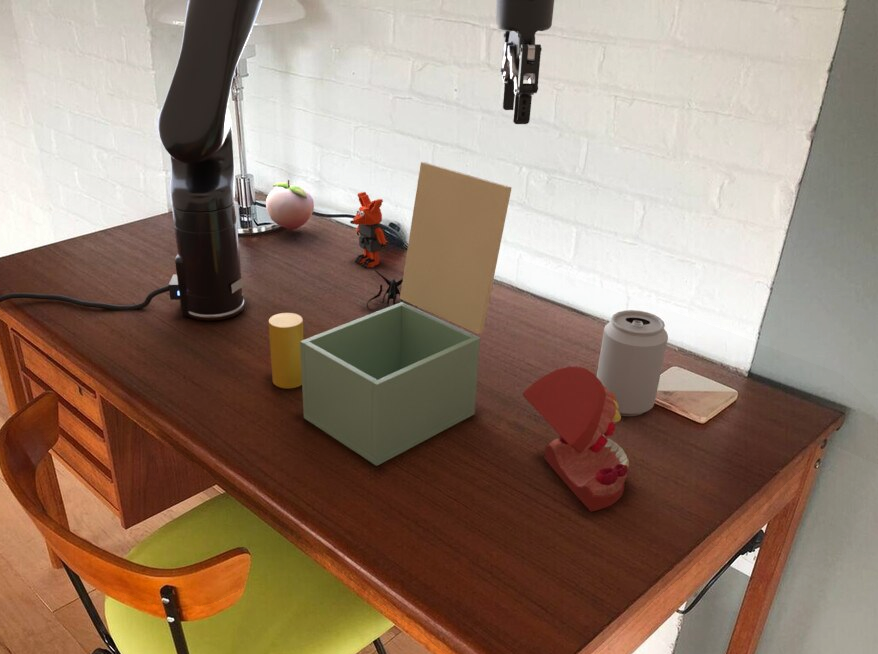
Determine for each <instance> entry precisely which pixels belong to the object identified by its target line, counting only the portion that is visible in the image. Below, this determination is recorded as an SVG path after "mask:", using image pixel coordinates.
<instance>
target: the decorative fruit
mask: <svg viewBox="0 0 878 654" xmlns="http://www.w3.org/2000/svg"><path fill="white" fill-rule="evenodd" d="M272 187H273V189H272V190H271V191H270V192H269V194H268V195H267V197H266V200H265V208H266V212H267V214H268V216H269V218H270V219H271V220H272V221H273V223H275V224H276V225H277V226H279V227H283V228H284V229H287V230H289V231H291V232H292V231H294V230H297V229H299V228H301V227H302V226H304V225H305V224H306V223H307V222H309V220H310V219H311V217H312V215H313V213H314V208H315V203H314V199H313V196H312V195H311V193H310V192H309V191H308V190H307V189H305V188H303V187H300V186H297V185H291V184H290V179H288V180H287V182H286V181H280V182H275V183H273V185H272Z"/></svg>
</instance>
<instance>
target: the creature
mask: <svg viewBox="0 0 878 654" xmlns="http://www.w3.org/2000/svg"><path fill="white" fill-rule="evenodd" d="M374 272H375V273H376V274H378V276H379V277H380V278H382V279H383V280H384V282H385V283H386V284H387V285H388V287H387V289H386V291H385V293H384V294H383V297H382V301H381V302H379V303H380V304H379V305H380V306H379V307H375V308H373V309H371V308H369V303H370V302H371V301H372V300H375V299H377V298H379V297H380V296H381V295H382V293H383V284H380V285H379V290H378V293H377V294H376V295H375V296H373V297H371V298H370V299H368V300H367V303H366V309H367V310H369V311H371V312H372V311H375V310H377V309H380V308H385V306H384V305H381V303H382V304H383V303H384V302H385V297H386V295H387V299H386V308H387V307H390V300H392V306H393V305H395V304H396V300H397V298H398V297H397V295H399V296H400V295H401V290H400V289H399V288H398V287H399V286H400V285H402V282H403V277H402V278H401V279H400V280H398V281H396V279H395V278H393V279H391V280H389V279H387V278H386V277H385V276H384V275H382V274H381V273H379V272H378V270H374ZM400 302H403V303H404V300H402V299H400ZM415 308H418V307H417V306H415Z"/></svg>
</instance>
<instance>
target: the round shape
mask: <svg viewBox="0 0 878 654" xmlns="http://www.w3.org/2000/svg"><path fill="white" fill-rule="evenodd" d="M268 333H269V349H270V362H271V363H270V364H271V377H272V383H273V385H274V386H275V387H278V388H279V389H280V388H281V389H295V388H299V387H302V371H301V351H300V341H302V340H305V337H304V319H303V317H302V315H300V314H298V313H295V312H281V313H276V314H274V315H272V316H270V318H269V319H268Z"/></svg>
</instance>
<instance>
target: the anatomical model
mask: <svg viewBox="0 0 878 654" xmlns="http://www.w3.org/2000/svg"><path fill="white" fill-rule="evenodd" d="M522 396H523V397H524V399H526V401H527V402H528V403H529V404H530V405H531V406H532V407H533V409H535V411H537V412H538V414H539V415H541V417H542V418H543V419H544V421H546V422H547V423H548V424H549V425H550V426H551V428H553V430H554V431H556V432H557V433H558V434H559V437H558V438H555V439H554V440H552V441H551V442H549V443H548V444H546V445H545V449H544V457H543V458H544V460H545V461H546V462H547V463H548V465H549V466H550V467H551V468H552V470H553V471H554V472H555V473H556V475H558V477H559V478H560V479H561V480H562V481H563V483H564V484H565V485H566V486H567V487H568V488H569V489H570V490H571V492H572V493H573V494H574V496H576V497H577V499H579V501H581V503H582V504H583V505H584V506H585V507H586V509H588V511H589V512H590V513H592V512H597V511H600V510H603V509H606V508H608V507H610V506H612V505H614V504H615V503H616V502H618V501H619V500H620V499H621V497H622V496H623V494H624V490H625V485H626V482H625V481H626V479H627V477H628V471H629V470H628V468H629V466H630V460H629V458H628V456H627V454H626V453H625V450H624V449H623V448H622V447H621V446H620V445H619V444H618V443H616V442H615V441H613V440H612V439H610V438H608V437H609V436H613V434H614V431H615V430H616V424H617V423H618V422H620V421H621V419H622V416H620V413H619V412H618V408H619V406H618V404H617V402H616V399H615V396H614V395H613V393H611V392H610V391H608V390H607V388H606V387H605V386H603V384H602V382H601V381H600V380H599V379H598V378H597V375H596V374H595V373H593V372H592V371H591V370H589V369H587V368H585V367H582V366H566V367H562V368H558V369H555V370H553V371H551V372H549V373H546V374H545V375H543V376H542V377H540V378H538V379H537V380H536V381H535V382H533V383H532V384H531V385H530V386H529V387H527V389H525V390H524V391H523V393H522ZM606 436H607V437H606Z"/></svg>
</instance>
